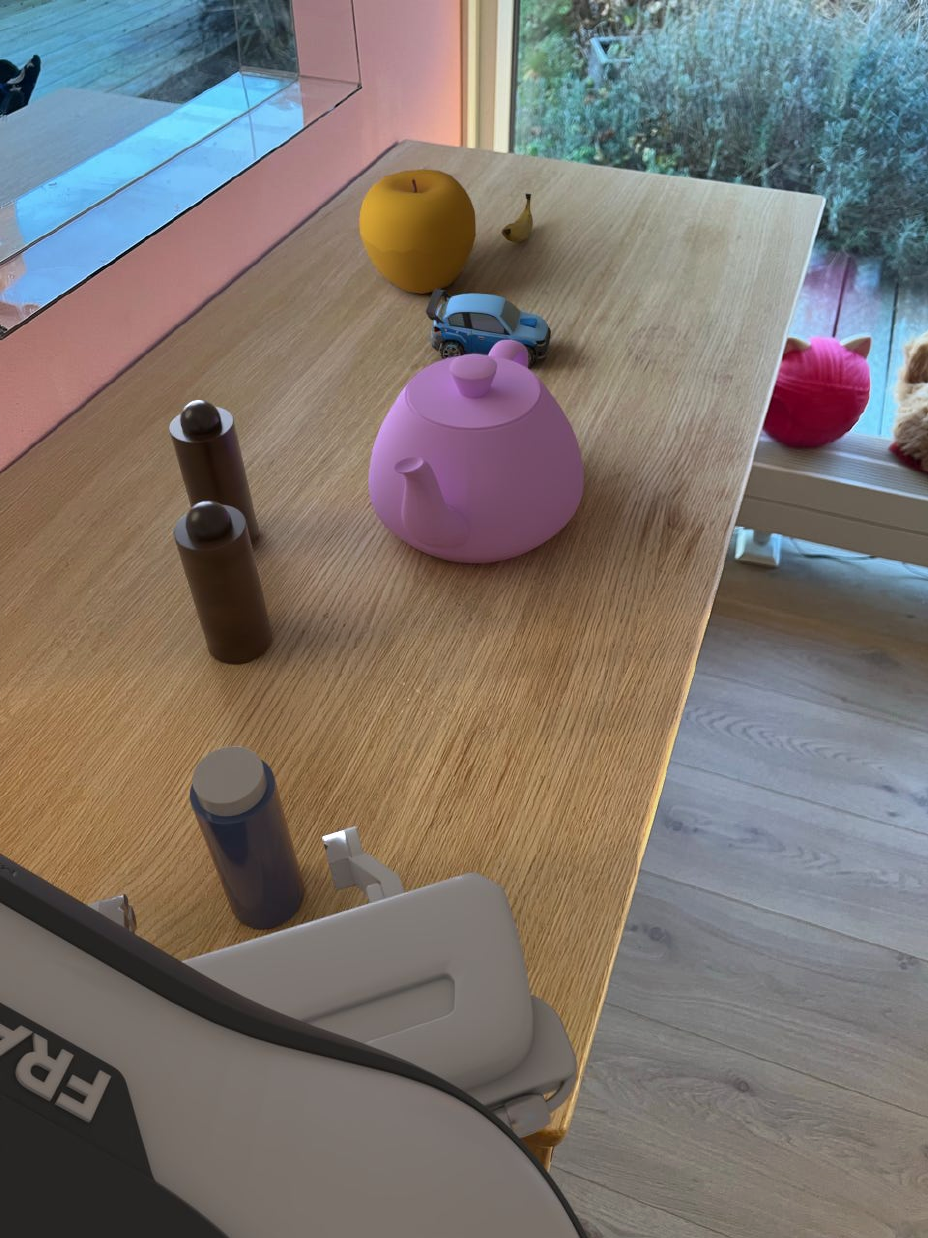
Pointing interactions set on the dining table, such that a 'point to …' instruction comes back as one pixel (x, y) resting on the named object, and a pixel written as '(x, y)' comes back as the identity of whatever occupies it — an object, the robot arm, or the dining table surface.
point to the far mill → (212, 459)
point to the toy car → (484, 325)
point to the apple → (418, 229)
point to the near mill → (224, 581)
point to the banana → (520, 225)
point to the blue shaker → (247, 836)
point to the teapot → (476, 460)
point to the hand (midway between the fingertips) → (228, 872)
